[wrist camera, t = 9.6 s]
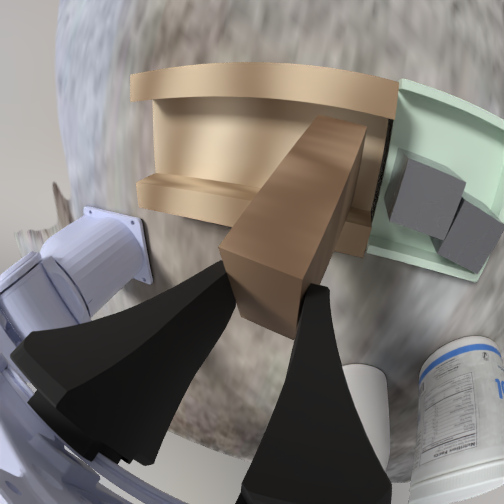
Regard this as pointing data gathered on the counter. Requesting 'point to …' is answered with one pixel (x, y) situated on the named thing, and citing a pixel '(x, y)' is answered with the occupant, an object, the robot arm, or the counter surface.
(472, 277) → the tray
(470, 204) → the dark grey cube
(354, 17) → the counter surface
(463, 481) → the supplement tub
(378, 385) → the cup
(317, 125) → the brown wooden block
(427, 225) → the grey cube
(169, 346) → the robot arm
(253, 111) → the slot board
